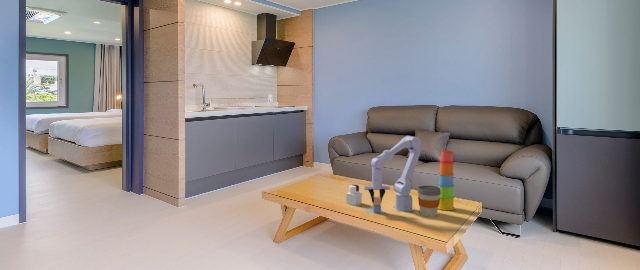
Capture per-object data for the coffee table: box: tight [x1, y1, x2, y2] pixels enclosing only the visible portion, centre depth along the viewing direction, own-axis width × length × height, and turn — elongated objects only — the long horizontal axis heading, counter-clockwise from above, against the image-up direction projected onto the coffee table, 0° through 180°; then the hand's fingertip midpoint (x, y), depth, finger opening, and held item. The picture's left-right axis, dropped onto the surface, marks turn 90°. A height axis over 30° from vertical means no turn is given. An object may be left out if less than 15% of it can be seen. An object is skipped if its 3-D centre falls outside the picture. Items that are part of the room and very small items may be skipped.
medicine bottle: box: [345, 184, 363, 207], centre depth 227 cm, size 7×7×12 cm
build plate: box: [363, 207, 385, 214], centre depth 214 cm, size 10×10×1 cm
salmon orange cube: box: [371, 195, 382, 206], centre depth 211 cm, size 4×4×4 cm
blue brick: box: [371, 204, 382, 214], centre depth 211 cm, size 4×4×4 cm
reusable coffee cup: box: [417, 185, 441, 217], centre depth 208 cm, size 13×12×15 cm
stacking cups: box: [437, 150, 456, 211], centre depth 217 cm, size 10×10×35 cm
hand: (376, 202), depth 210 cm, fingers closed on salmon orange cube, 4 cm apart
